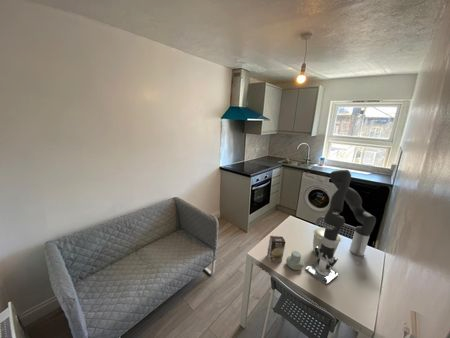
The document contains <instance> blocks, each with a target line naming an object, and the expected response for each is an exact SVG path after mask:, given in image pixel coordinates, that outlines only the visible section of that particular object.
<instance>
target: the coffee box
mask: <svg viewBox="0 0 450 338" xmlns="http://www.w3.org/2000/svg"><path fill="white" fill-rule="evenodd" d="M285 245H286V240H285V238H284V237H283V236H278V235H270V236H269V241H268V247H267V253H266V255H267V259H268V261H269V262H279V263H280V262H283V256H284V251H285V247H286V246H285Z"/></svg>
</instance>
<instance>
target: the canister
mask: <svg viewBox="0 0 450 338" xmlns="http://www.w3.org/2000/svg"><path fill="white" fill-rule="evenodd" d="M325 229H326V227H316V228H315V227H314V229H313V240H312V241H313V242H312V250H313V252H314V253H315V248H316V247H319V248H321V243H322V239H323V236H324V232H325ZM341 241H342V237H341V235H339V234H338V236H337V239H336V246H335V249H334V253H333V255H335V253H336V251H337V248H338V246H339V243H340V242H341ZM320 254H321V253H320V250H319V255H320Z"/></svg>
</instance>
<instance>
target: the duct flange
mask: <svg viewBox="0 0 450 338" xmlns="http://www.w3.org/2000/svg"><path fill="white" fill-rule="evenodd" d="M318 266H319V264H318V263H317V260H316V261H314V262H313V263H311V264H310V265H308V266H306V267H305V271H306V272H308V273H309V274H310V275H312V276H313V277H314V278H316V279H317V280H318V281H320V282H321V283H323V284H324V285H325V286H327V285H329V284H331V282H332V281H334V280H335V279H336V278H337V277H338V276H339V274H338V272H337V271H335V270H333V269H331V268H330V269H328V270H327V271H326V272H323V271H321V270H319V268H318Z"/></svg>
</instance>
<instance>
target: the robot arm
mask: <svg viewBox="0 0 450 338" xmlns="http://www.w3.org/2000/svg"><path fill="white" fill-rule="evenodd" d="M329 177H330V181H331V182H332V183H333V185H334V186H335V188H336V189H337V190H336V191H335V192H334V193H333V195H332V197H331V199H330V203H329V207H328V211H327V212H326V213H325V215H324V217H323V221H324V223H325V224H326V225H329V226H327V227H325V228H326V229H325V232H324V236H323V239H322V243H321V248H319V247H316V248H315V252H314V254H315V255H314V256H315V257H316V258H317V260H316V261H317V263H318V264H319V261H320V256H323V257H324V258H326V260H327V266H326V270H328V269H331V268H332V267H333V266H335V264H337V262H338V260H339V258H338V257H335V256H334V255H335V253H334V249H335V246H336V239H337V236H338V235H339V233H340V231H341V229H342V228H343V227H344V225H345V223H346V220H345V218H344V216H342V215H339V214H340V213H342V212H343V210H344V204H345V202H346V204H347V205H348V206H349V208H350V210H351V211H352V212H353V215H354V217H355V219H356V221H357V222H359V223H360V224H361V225H362V226H361V225H359V226H358V225H357V226H356V227H355V228H354V232H353V237H352V239H351V243H350V247H349V251H350V253H352V254H353V255H355V256H358V257H363V256H364V255H365V252H366V249H367V246H368V244H369V243H368V242H369V239H370V236H371V234H372V232H374V231H373V230H374V227H375V225H376V223H377V218H376V216H374V215H372V213H370V212H368V211H366V209H364V208H363V205H362V204H363V200H362V197H361V196H360V194H359V193H358V191H356V190H355V189H354V188H352V187H350V183H351V181H352V174H351V171H349V169H339V170H332V171H331V172H330V173H329ZM319 250H320V253H321V254H320V255H319ZM333 253H334V255H333ZM329 259H330V260H329Z"/></svg>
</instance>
